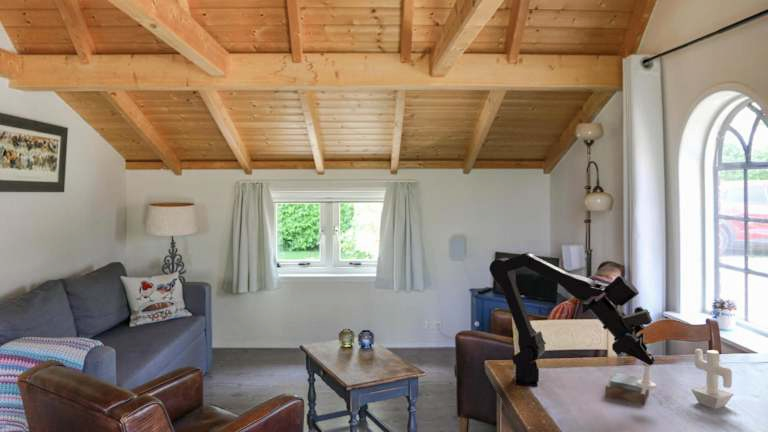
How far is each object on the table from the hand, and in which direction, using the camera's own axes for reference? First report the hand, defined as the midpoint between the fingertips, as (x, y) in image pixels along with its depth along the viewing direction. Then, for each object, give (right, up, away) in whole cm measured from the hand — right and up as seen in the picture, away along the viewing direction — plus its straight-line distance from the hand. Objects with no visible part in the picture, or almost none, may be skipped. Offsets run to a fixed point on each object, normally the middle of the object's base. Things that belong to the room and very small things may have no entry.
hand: (652, 363), depth 131 cm
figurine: (+19, -13, +4) cm, 23 cm away
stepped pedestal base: (-2, -12, +10) cm, 16 cm away
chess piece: (-1, -7, +1) cm, 7 cm away
